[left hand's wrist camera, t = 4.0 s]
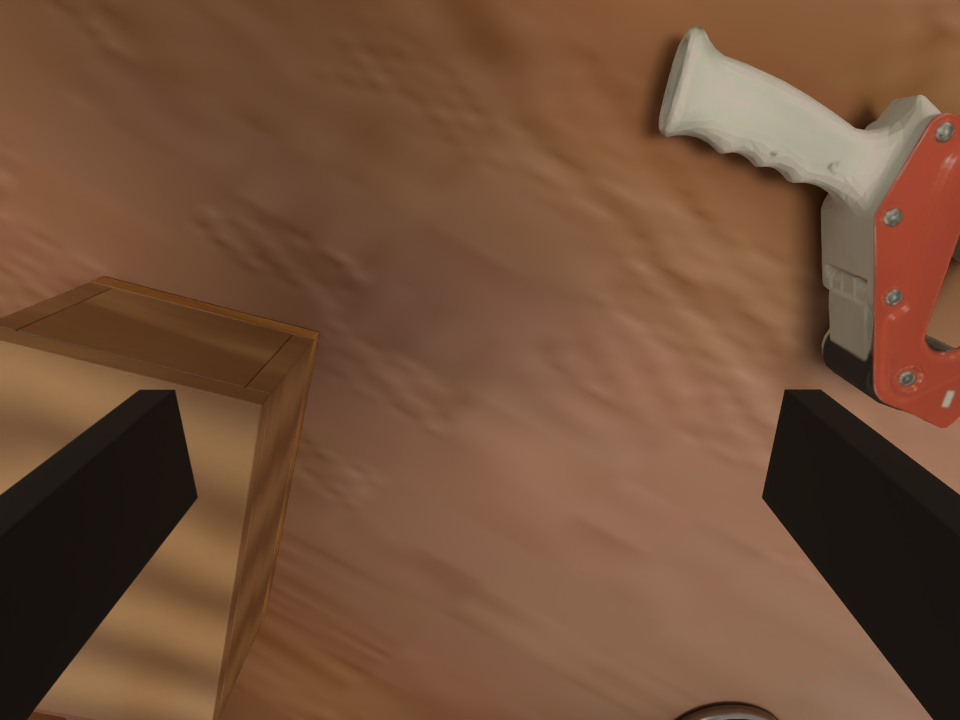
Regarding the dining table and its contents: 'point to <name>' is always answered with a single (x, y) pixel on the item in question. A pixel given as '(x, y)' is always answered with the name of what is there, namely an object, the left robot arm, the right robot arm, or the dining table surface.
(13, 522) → the left robot arm
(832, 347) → the tape dispenser
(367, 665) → the dining table surface
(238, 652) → the brown wooden block
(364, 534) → the dining table surface
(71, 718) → the drawer
